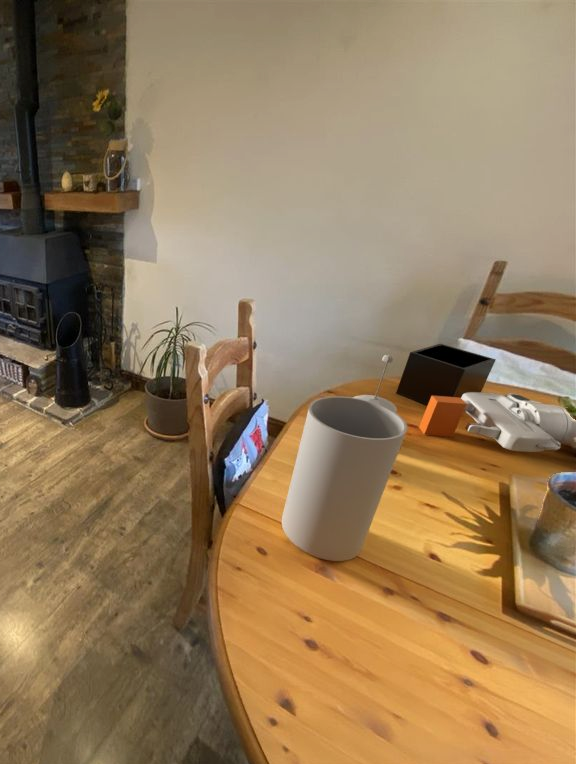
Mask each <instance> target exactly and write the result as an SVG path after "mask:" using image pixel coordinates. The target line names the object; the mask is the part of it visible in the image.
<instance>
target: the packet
mask: <svg viewBox="0 0 576 764" xmlns="http://www.w3.org/2000/svg"><path fill="white" fill-rule="evenodd" d="M466 405H467V404H466V403H465V402H464V401H463V400H462V399H461V398H458V397H445V396H431V398H430V401H429V404H428V406H426V409H425V410H424V413H423V415H422V419H421V421H420V424H419V425H418V428H419V430H420V431H421V432H422V433H423V435H428V436H438V437H439V436H440V437H449V438H453V436H454V434H455V432H456V429H457V428H458V426H459V424H460V421H461V418H462V417H463V414H464V412H465V411H464V410H465V407H466Z"/></svg>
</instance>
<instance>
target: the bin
mask: <svg viewBox="0 0 576 764" xmlns="http://www.w3.org/2000/svg"><path fill="white" fill-rule="evenodd" d="M496 361H497V359H496V358H493V357H489V356H485V355H481V354H478V353H475V352H472V351H469V350H464V349H461V348H457V347H454V346H450V345H447V344H443V343H437V344H434V345H431V346H427V347H423V348H419V349H417V350H413V351H411V352H409V355H408V357H407V360H406V363H405V366H404V369H403V372H402V374H401V378H400V380H399V382H398V386H397V389H396V392H395V394H396V395H398V396H401V397H404V398H406V399H408V400H411V401H414V402H416V403H418V404H420V405H423V406H425V407H427V406H428V404H429V401H430V398H431V396H445V397H458V398H461V397H462V395H463V394H464V393H467V392H483V389H484V386H485V385H486V383H487V380H488V379H489V378H488V377H489V375H490V373H491V372H492V369H493V367H494V365H495V363H496Z"/></svg>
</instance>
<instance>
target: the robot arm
mask: <svg viewBox="0 0 576 764" xmlns="http://www.w3.org/2000/svg"><path fill="white" fill-rule="evenodd" d="M461 399H462V400H463V401H464V402H465V403H466V404H467V405H466V407H465V410H464V412H466V414H467V415H468V416H470V418H472V419H473V420H474V421H475V422H467V423H466V426H465V428H464V429H465V430H466V431H467V432H468V433H469V434H478V435H480V436H483V437H486V438H489V439H494V440H495V441H496V442H497V443H498V445H500V446H501V447H502V448H503V449H506V450H509V451H512V452H523V453H524V452H527V453H541V452H543V451H545V450H546V451H558V450H560V449H561V448H562V445H564V446H565V445H566V446H568V447H571V449H572V450H573V452H575V453H576V442H574V441H573V438H574V437H576V420H575V419H573V418H572V417H571V416H570V414H569V413H568V412H567V411H566V409H565V408H566V407H565V408H564V406H561V405H556V404H549V403H548V404H547V403H543V402H541V401H537V400H536V401H535V400H533V399H530V398H527V397H524V396H523V395H520V394H518V393H516V392H515V393H514V392H508V393H506V394H505V395H504V394H500V393H497V392H483V391H481V392H467V393H464V394H463V395H462V397H461Z"/></svg>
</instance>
